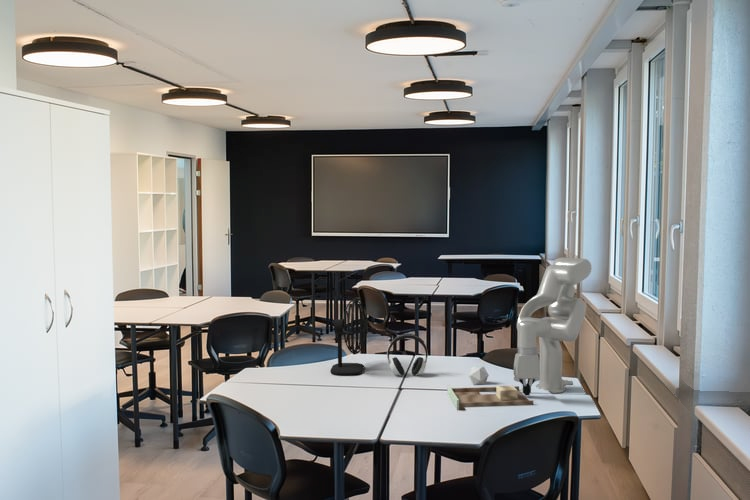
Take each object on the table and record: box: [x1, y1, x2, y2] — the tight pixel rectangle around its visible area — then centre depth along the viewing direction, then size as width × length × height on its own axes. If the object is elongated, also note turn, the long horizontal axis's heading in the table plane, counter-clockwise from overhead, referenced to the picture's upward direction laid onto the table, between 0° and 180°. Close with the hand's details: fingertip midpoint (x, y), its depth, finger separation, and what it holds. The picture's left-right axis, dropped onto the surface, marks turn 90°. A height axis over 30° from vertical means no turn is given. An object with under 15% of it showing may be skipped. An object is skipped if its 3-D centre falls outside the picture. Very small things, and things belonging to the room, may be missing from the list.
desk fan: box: [330, 298, 369, 376], centre depth 340 cm, size 27×18×35 cm, turn 176°
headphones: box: [386, 333, 429, 377], centre depth 330 cm, size 19×8×20 cm, turn 91°
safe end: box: [446, 384, 460, 411], centre depth 288 cm, size 1×22×4 cm, turn 4°
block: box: [495, 385, 517, 400], centre depth 290 cm, size 7×7×4 cm
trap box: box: [451, 385, 534, 411], centre depth 289 cm, size 30×22×3 cm
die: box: [468, 366, 489, 386], centre depth 315 cm, size 8×9×10 cm
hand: (526, 394), depth 290 cm, fingers closed
